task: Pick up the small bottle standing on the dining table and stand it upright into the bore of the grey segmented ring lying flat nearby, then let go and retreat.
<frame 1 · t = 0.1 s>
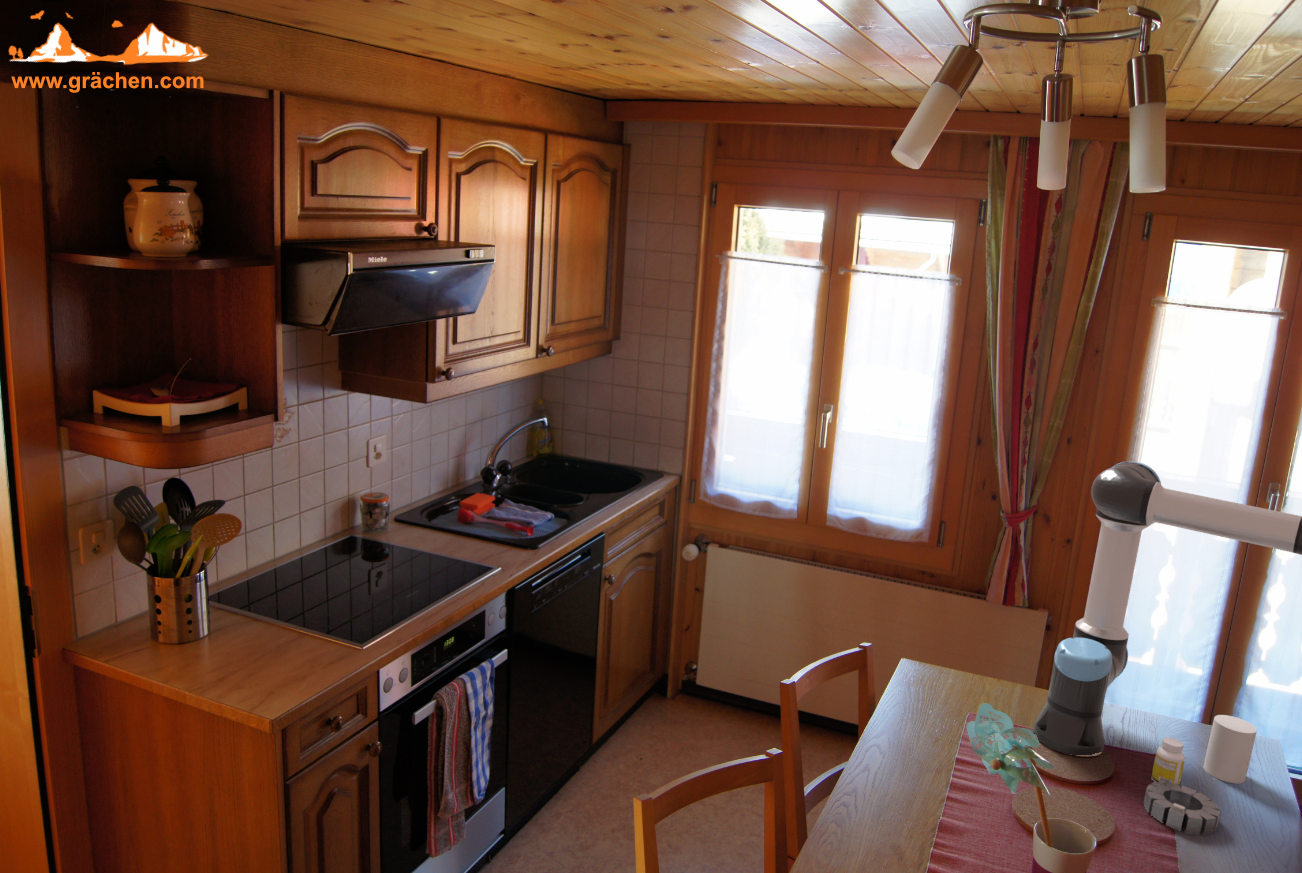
grey segmented ring: (1179, 815, 190), on the table
white cylinder: (1223, 774, 209), on the table
supplement bottle: (1164, 784, 202), on the table
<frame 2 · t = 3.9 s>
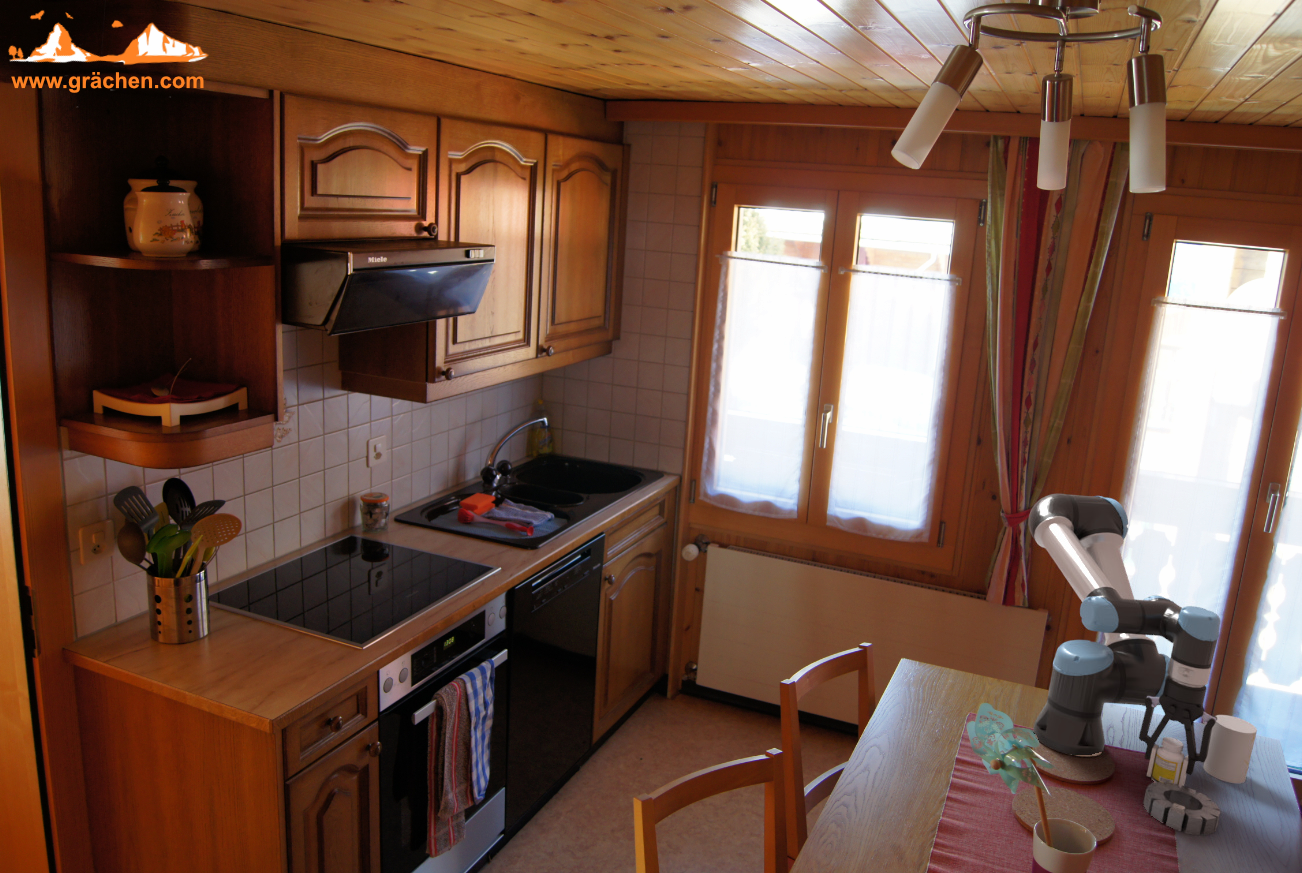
hand: (1165, 779, 202), 1 cm above the table, fingers closed on supplement bottle, 5 cm apart
supplement bottle: (1164, 784, 202), on the table, touching gripper
everything else where it was.
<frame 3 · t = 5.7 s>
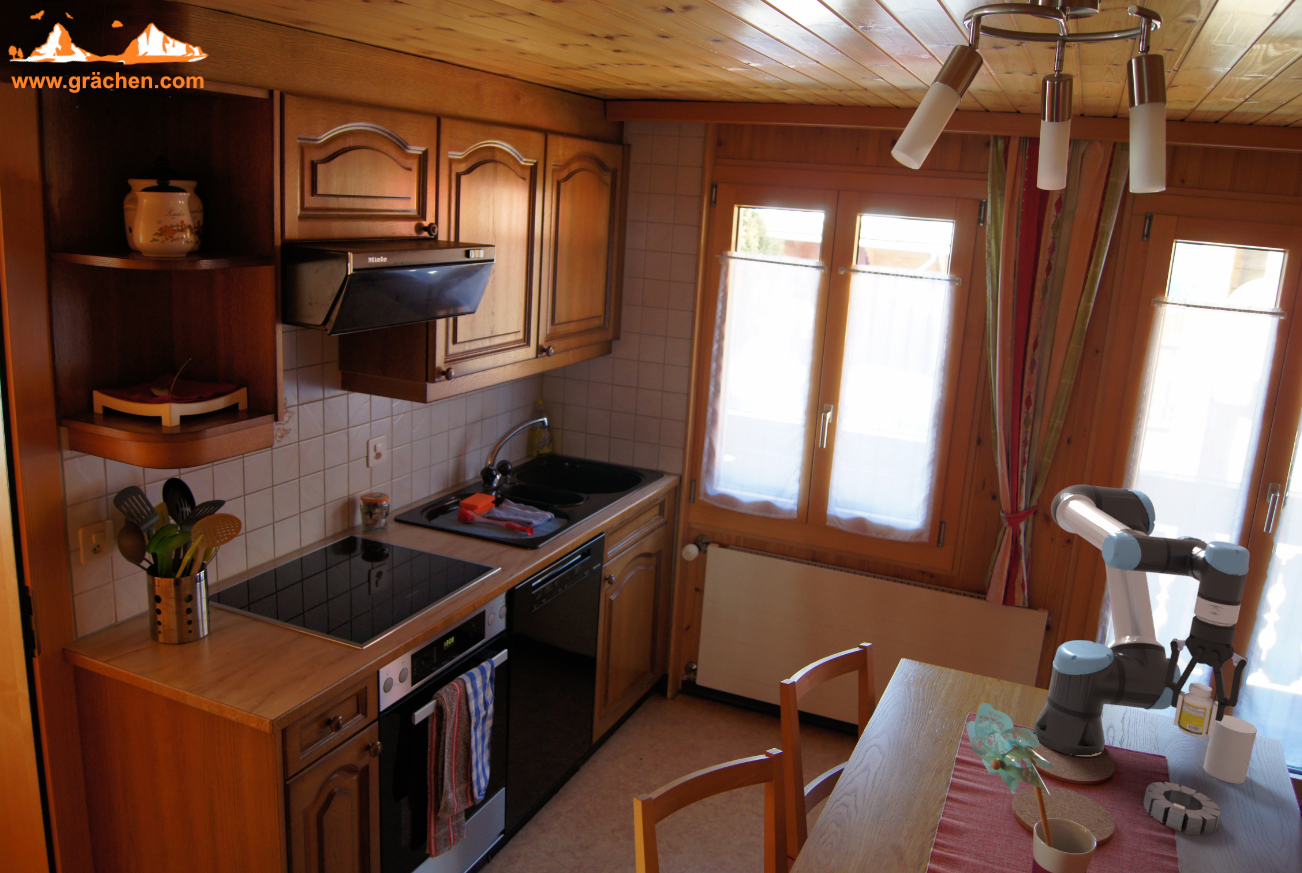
hand: (1193, 728, 190), 17 cm above the table, fingers closed on supplement bottle, 5 cm apart
supplement bottle: (1192, 732, 190), point 16 cm above the table, touching gripper
everything else where it was.
when the fingers open (4 cm above the table, at t = 7.7 s): supplement bottle drops 4 cm, resting in grey segmented ring.
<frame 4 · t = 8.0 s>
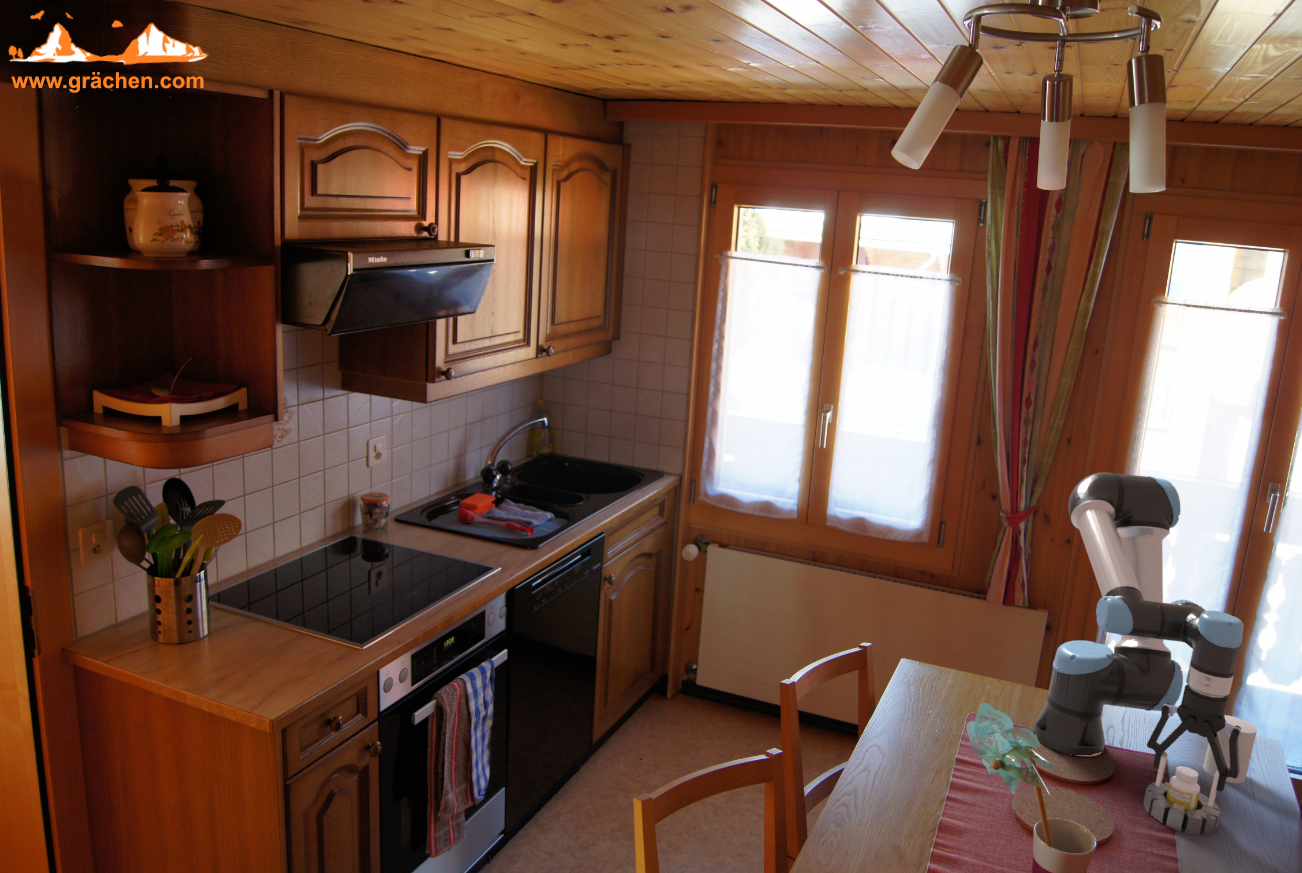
hand: (1184, 793, 189), 5 cm above the table, fingers open, 9 cm apart
supplement bottle: (1178, 816, 190), resting in grey segmented ring
everything else where it was.
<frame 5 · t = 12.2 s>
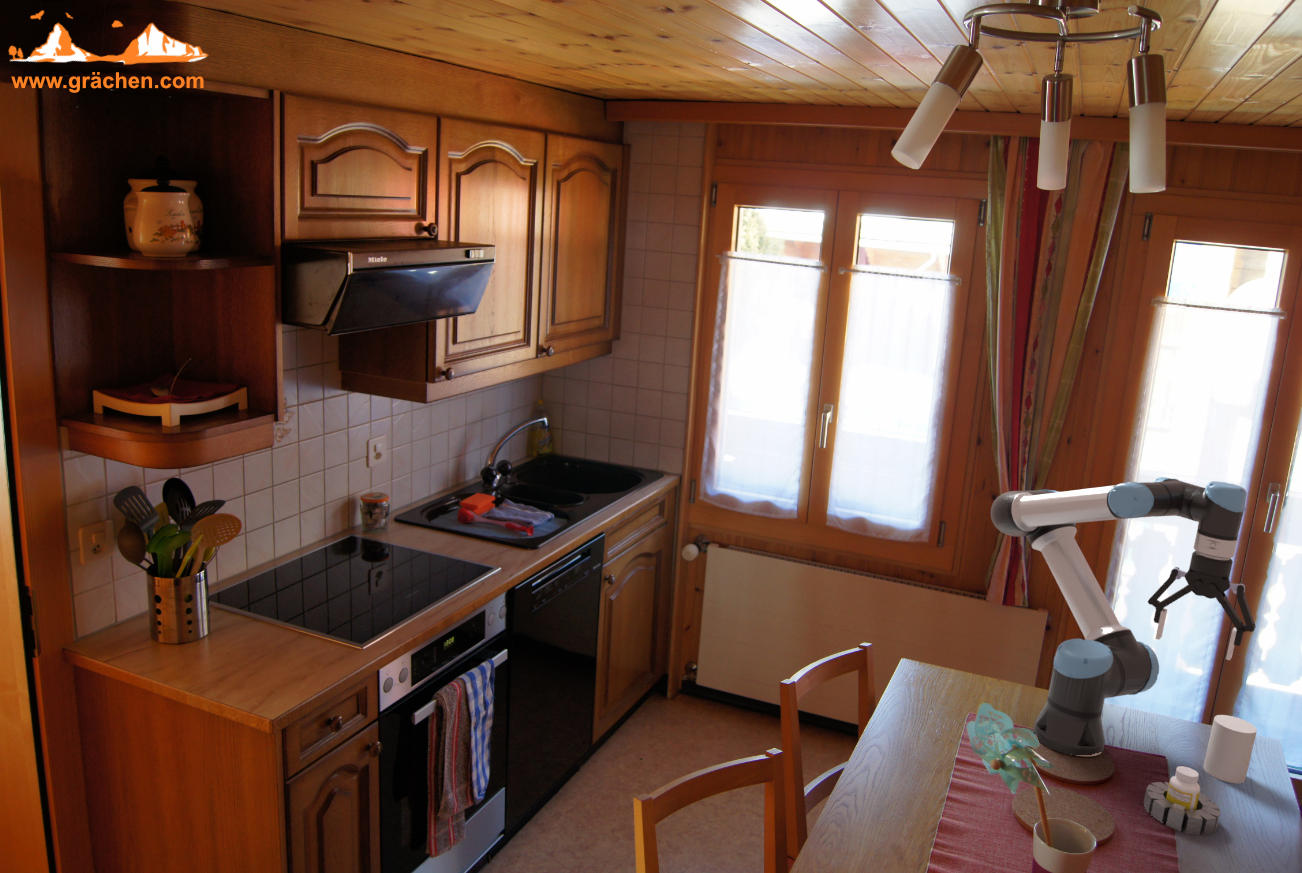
hand: (1192, 647, 203), 29 cm above the table, fingers open, 13 cm apart
nothing on the table moved.
at the end: supplement bottle 0.2 cm off-centre on the grey segmented ring, point 0.0 cm above the grey segmented ring's base; supplement bottle tilted 0°; the gripper is holding nothing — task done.
